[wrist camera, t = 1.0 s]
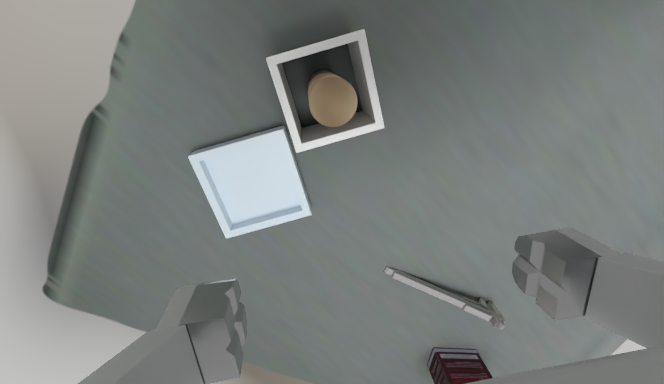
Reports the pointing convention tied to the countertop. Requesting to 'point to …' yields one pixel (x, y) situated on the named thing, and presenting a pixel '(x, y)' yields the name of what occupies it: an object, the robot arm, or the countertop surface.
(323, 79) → the dowel
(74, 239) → the countertop surface
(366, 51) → the white open box
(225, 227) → the tray
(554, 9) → the countertop surface
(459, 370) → the supplement box
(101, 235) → the countertop surface
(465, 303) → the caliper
